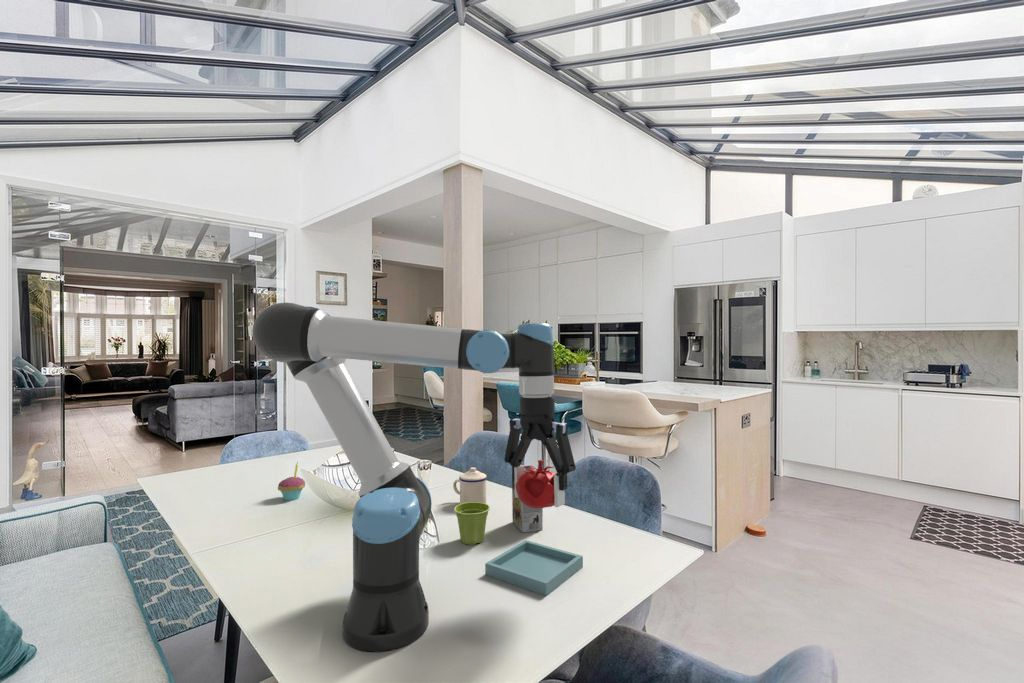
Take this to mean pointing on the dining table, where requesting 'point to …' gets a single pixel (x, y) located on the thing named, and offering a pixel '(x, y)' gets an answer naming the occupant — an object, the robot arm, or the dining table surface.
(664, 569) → the dining table surface
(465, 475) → the teacup with lid
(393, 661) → the dining table surface
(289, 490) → the cupcake
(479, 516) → the plant pot
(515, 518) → the coffee box
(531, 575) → the dish
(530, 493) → the pomegranate
